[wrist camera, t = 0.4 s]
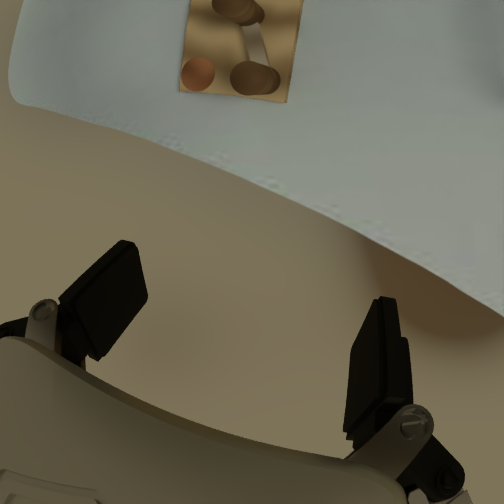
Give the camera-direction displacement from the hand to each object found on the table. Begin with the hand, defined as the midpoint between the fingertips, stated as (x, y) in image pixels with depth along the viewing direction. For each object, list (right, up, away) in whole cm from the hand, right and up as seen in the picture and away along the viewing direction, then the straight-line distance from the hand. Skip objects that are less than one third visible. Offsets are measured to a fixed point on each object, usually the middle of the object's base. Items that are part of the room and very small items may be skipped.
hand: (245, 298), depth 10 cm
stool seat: (-1, +31, +16) cm, 35 cm away
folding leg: (+1, +25, +16) cm, 30 cm away
